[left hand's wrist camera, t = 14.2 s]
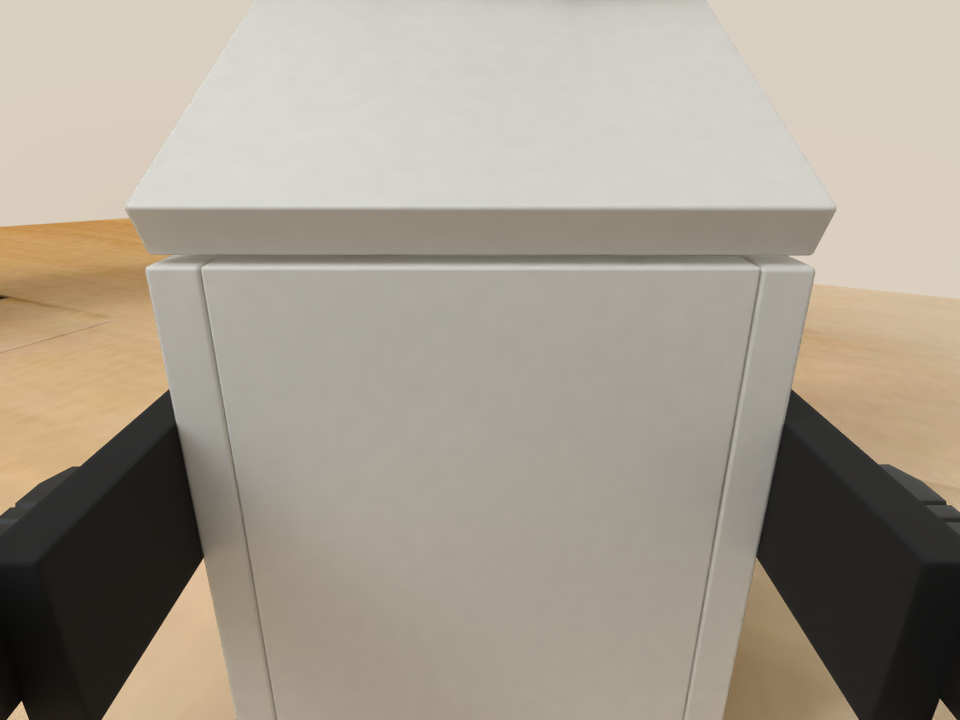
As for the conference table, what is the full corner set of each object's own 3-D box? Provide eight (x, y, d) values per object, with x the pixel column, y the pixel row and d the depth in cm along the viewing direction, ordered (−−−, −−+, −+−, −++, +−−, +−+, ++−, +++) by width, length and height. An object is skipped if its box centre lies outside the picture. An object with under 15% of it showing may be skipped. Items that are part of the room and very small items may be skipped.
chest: (358, 455, 25) (335, 181, 21) (601, 456, 25) (624, 181, 21) (245, 769, 13) (141, 266, 9) (714, 769, 13) (819, 266, 9)
